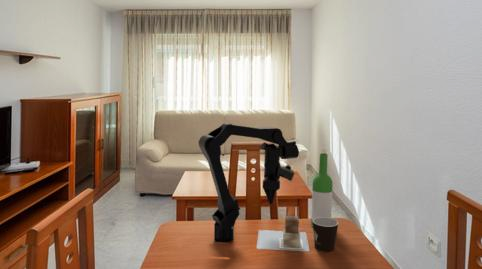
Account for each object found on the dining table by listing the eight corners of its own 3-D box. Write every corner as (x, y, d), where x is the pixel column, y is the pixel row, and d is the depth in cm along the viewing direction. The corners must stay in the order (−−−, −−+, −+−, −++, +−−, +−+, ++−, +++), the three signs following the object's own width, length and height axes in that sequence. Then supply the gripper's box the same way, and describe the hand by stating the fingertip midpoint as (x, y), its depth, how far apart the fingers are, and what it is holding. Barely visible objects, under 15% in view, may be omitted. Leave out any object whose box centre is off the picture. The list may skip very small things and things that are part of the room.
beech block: (283, 247, 123) (283, 233, 122) (283, 240, 128) (283, 227, 128) (299, 247, 122) (299, 234, 122) (298, 241, 128) (298, 227, 127)
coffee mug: (337, 256, 118) (339, 227, 116) (311, 253, 119) (312, 225, 118) (335, 241, 129) (337, 215, 128) (311, 239, 131) (312, 213, 129)
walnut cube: (285, 232, 123) (285, 220, 122) (285, 227, 127) (285, 215, 126) (298, 233, 122) (298, 220, 122) (297, 228, 127) (298, 216, 126)
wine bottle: (306, 226, 143) (309, 153, 139) (319, 222, 147) (322, 151, 143) (321, 233, 136) (324, 156, 132) (334, 228, 141) (338, 154, 137)
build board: (256, 250, 122) (256, 247, 122) (258, 231, 137) (258, 229, 137) (309, 253, 120) (309, 250, 120) (305, 233, 136) (305, 231, 136)
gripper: (294, 166, 124) (293, 209, 126) (292, 156, 143) (291, 193, 145) (262, 165, 125) (262, 207, 127) (264, 155, 144) (264, 192, 146)
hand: (271, 200), depth 136 cm, fingers open, 9 cm apart
